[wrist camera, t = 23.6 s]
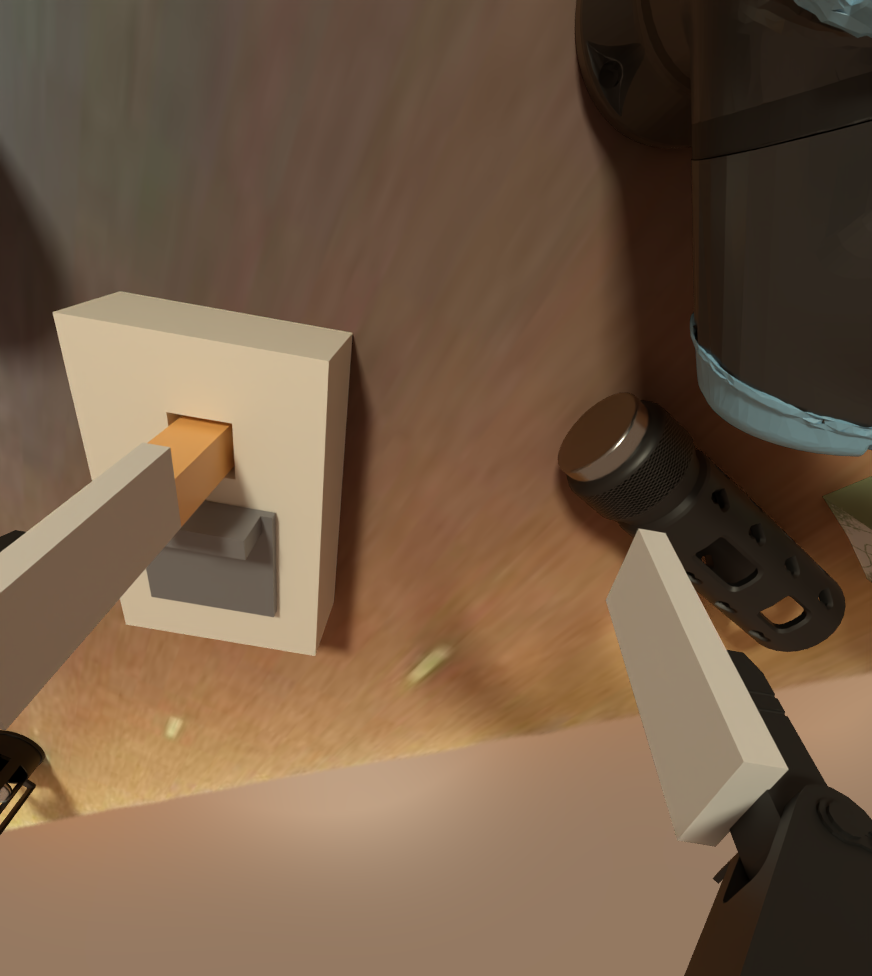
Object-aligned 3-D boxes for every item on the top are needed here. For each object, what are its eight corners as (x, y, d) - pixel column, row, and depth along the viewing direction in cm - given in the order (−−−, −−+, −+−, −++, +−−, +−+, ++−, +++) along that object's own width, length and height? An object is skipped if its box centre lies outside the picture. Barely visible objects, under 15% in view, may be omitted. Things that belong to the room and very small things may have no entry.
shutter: (137, 489, 44) (105, 517, 40) (275, 512, 44) (256, 543, 40) (155, 591, 50) (130, 623, 46) (276, 611, 50) (260, 645, 46)
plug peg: (212, 391, 46) (97, 481, 32) (256, 399, 46) (160, 492, 32) (215, 431, 48) (109, 532, 34) (257, 439, 48) (168, 542, 34)
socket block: (120, 291, 43) (52, 312, 36) (352, 332, 43) (328, 361, 37) (166, 573, 60) (126, 624, 53) (334, 602, 60) (315, 655, 53)
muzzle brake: (723, 595, 55) (769, 673, 47) (543, 440, 47) (558, 499, 39) (807, 544, 51) (875, 620, 42) (625, 365, 43) (662, 412, 34)
